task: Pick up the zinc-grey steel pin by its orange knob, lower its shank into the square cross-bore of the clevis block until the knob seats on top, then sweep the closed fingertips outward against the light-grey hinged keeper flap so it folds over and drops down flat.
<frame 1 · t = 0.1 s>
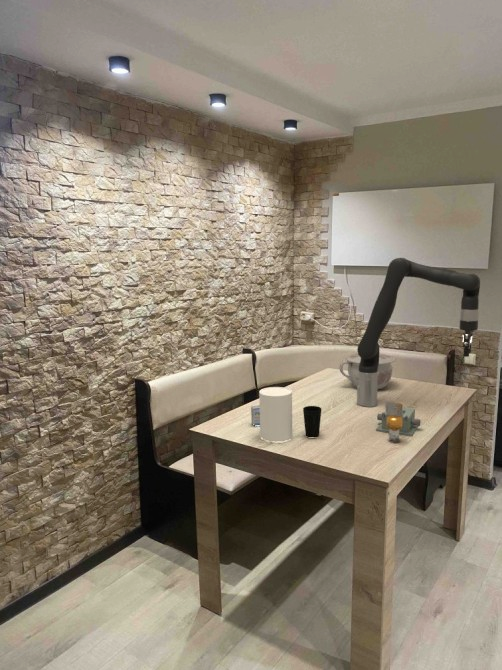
hand: (467, 354, 224), 29 cm above the table, fingers open, 8 cm apart
canister: (276, 437, 209), on the table
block: (398, 426, 218), on the table
keeper: (394, 410, 208), point 10 cm above the table, hinge at 15.0°
cup: (312, 436, 210), on the table
pin: (394, 440, 202), on the table
chamber pot: (369, 387, 282), on the table
medicine box: (261, 425, 225), on the table
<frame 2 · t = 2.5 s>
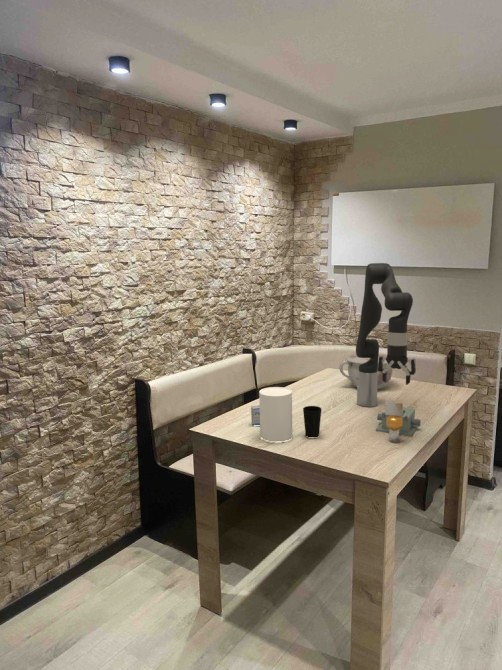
hand: (396, 383, 198), 24 cm above the table, fingers open, 8 cm apart
nothing on the table moved.
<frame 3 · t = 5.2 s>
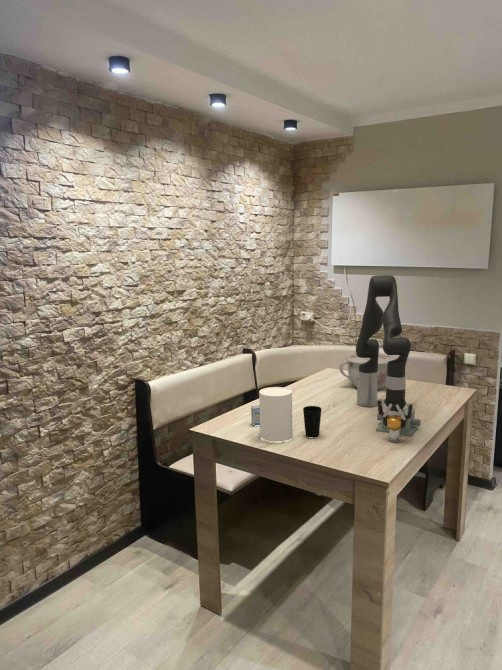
hand: (394, 426, 201), 6 cm above the table, fingers closed on pin, 6 cm apart
pin: (394, 440, 202), on the table, touching gripper
everything else where it was.
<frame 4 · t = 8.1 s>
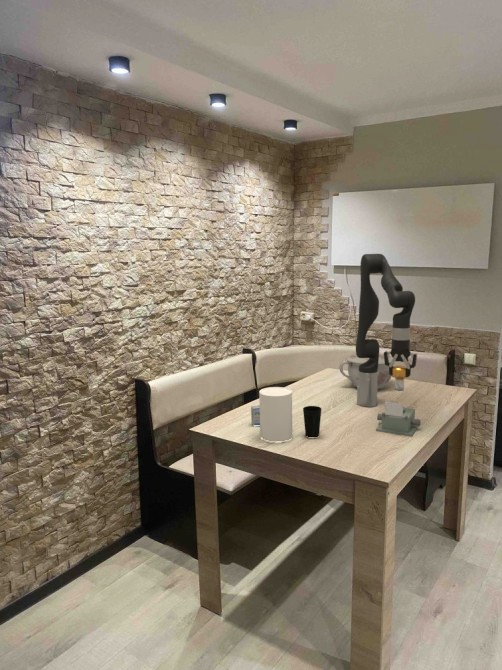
hand: (399, 376, 214), 23 cm above the table, fingers closed on pin, 6 cm apart
pin: (399, 389, 215), point 17 cm above the table, touching gripper
everything else where it was.
when the fingers open (9 cm above the table, at t = 11.0 s): pin drops 1 cm, resting on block.
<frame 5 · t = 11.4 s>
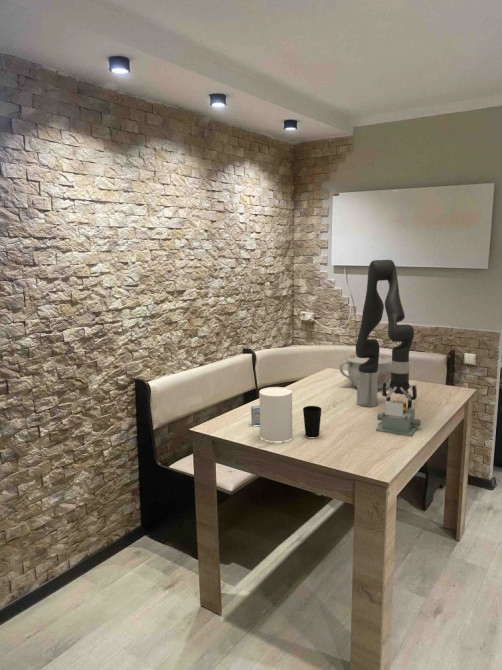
hand: (398, 407, 216), 9 cm above the table, fingers open, 8 cm apart
pin: (398, 424, 218), point 1 cm above the table, touching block
everything else where it was.
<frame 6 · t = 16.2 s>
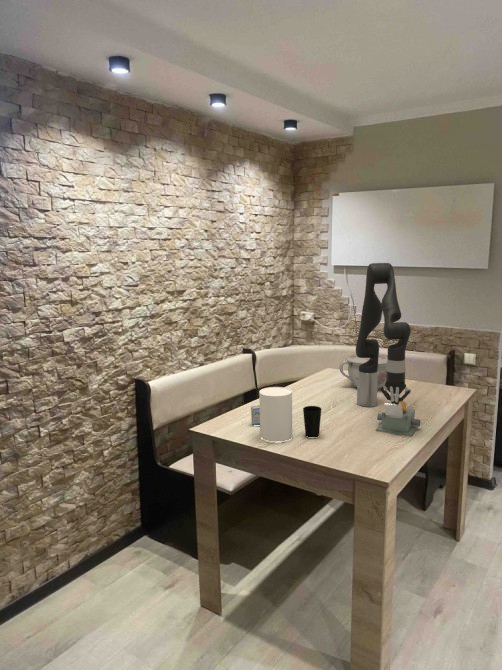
hand: (394, 410, 209), 10 cm above the table, fingers closed
keeper: (393, 411, 208), point 10 cm above the table, hinge at 28.5°
everything else where it was.
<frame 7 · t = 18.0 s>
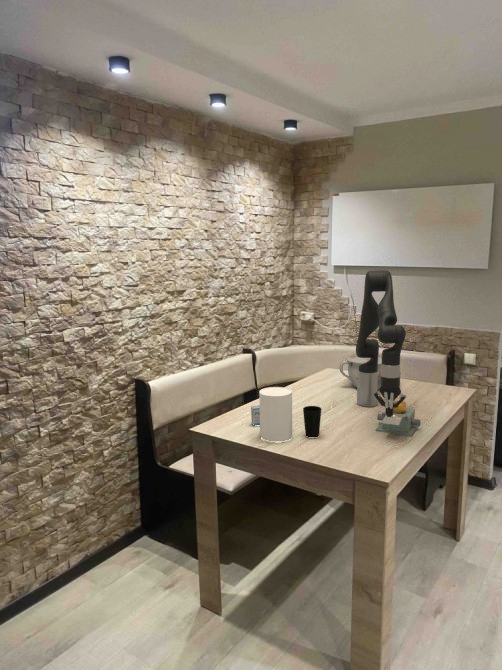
hand: (389, 416, 201), 10 cm above the table, fingers closed
keeper: (392, 419, 207), point 7 cm above the table, hinge at 95.4°
everything else where it was.
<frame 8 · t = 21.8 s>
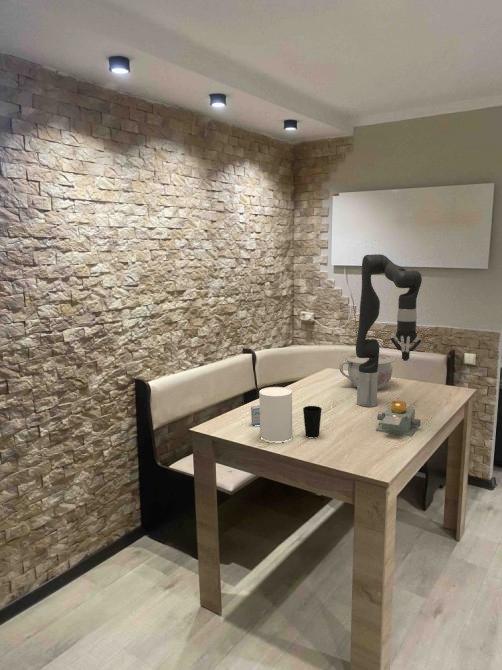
hand: (405, 360, 208), 31 cm above the table, fingers closed
nothing on the table moved.
at the end: pin 0.0 cm off-centre on the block, point 1.0 cm above the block's base; pin tilted 0°; keeper at +95° (first picture: +15°) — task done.
